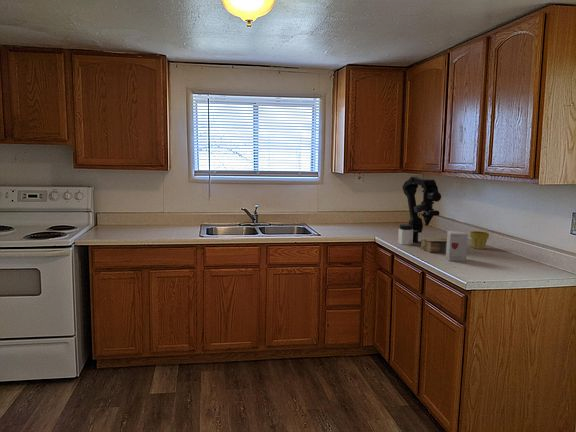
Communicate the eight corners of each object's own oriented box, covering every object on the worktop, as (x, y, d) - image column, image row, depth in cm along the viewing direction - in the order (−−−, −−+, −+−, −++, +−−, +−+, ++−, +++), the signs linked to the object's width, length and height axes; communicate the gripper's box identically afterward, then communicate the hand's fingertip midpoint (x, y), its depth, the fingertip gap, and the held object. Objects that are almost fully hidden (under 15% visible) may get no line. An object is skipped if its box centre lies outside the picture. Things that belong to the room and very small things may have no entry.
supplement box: (448, 261, 258) (450, 233, 256) (445, 257, 267) (446, 230, 265) (466, 261, 257) (467, 233, 255) (462, 258, 265) (464, 231, 264)
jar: (398, 244, 304) (399, 225, 302) (397, 242, 312) (398, 223, 310) (412, 245, 302) (413, 226, 300) (412, 242, 310) (413, 224, 308)
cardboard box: (420, 248, 290) (421, 239, 289) (441, 248, 293) (442, 238, 292) (430, 253, 278) (431, 243, 278) (452, 252, 281) (453, 242, 281)
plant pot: (479, 246, 302) (480, 230, 301) (491, 249, 292) (492, 233, 291) (465, 247, 298) (466, 231, 297) (478, 250, 289) (479, 234, 288)
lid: (421, 239, 289) (421, 238, 289) (442, 238, 292) (442, 237, 292) (431, 242, 278) (431, 241, 278) (453, 241, 281) (453, 240, 281)
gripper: (408, 198, 302) (407, 223, 304) (423, 201, 284) (422, 228, 286) (425, 198, 304) (423, 223, 306) (440, 201, 286) (439, 227, 288)
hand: (426, 225), depth 297 cm, fingers closed
